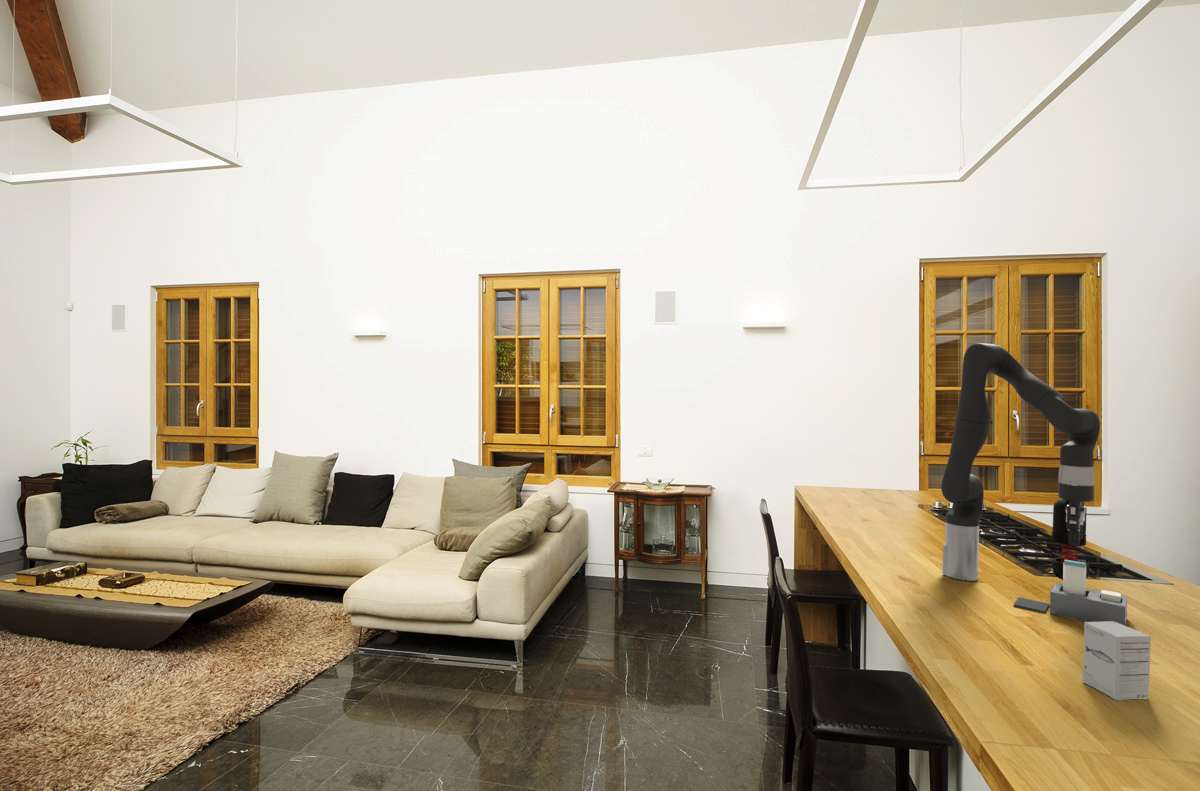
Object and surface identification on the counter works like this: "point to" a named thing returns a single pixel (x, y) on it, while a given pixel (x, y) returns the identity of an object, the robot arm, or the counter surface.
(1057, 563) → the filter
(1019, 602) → the mat
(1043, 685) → the counter surface
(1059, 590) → the housing
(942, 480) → the robot arm
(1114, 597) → the off-white cube
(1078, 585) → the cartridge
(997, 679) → the counter surface
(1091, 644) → the supplement box
